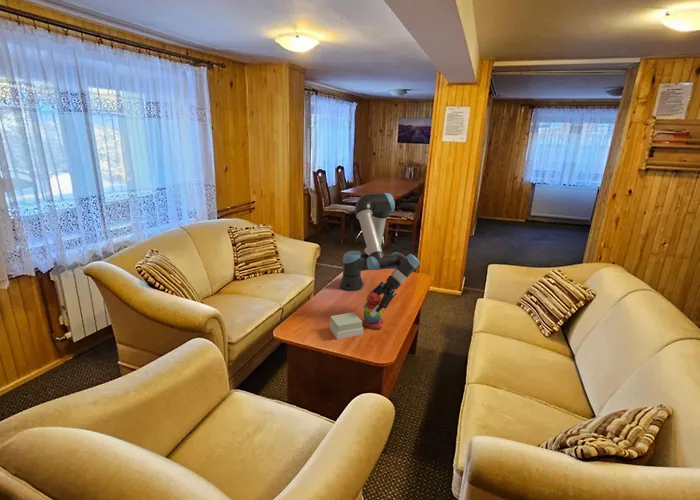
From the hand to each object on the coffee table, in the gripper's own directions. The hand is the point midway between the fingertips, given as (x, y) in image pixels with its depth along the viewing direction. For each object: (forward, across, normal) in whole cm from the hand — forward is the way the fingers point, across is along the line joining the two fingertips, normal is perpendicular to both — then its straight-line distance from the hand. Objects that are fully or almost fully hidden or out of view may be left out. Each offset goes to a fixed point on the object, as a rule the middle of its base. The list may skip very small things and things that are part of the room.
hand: (367, 311), depth 197 cm
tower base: (+15, -2, +4) cm, 15 cm away
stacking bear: (+3, 0, -8) cm, 9 cm away
